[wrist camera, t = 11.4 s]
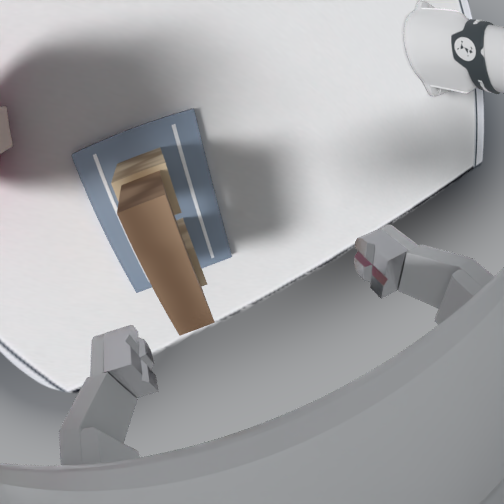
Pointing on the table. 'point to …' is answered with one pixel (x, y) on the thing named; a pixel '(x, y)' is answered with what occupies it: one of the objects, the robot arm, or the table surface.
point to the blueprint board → (182, 177)
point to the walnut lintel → (163, 251)
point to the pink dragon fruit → (4, 131)
